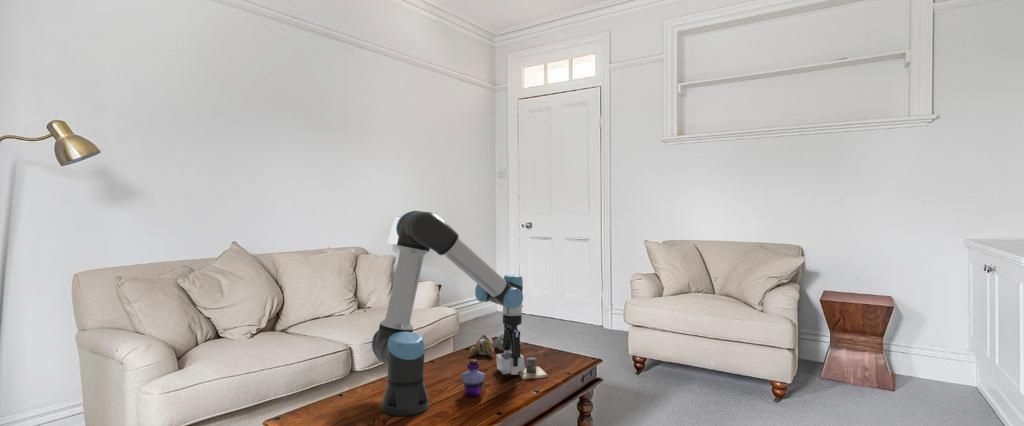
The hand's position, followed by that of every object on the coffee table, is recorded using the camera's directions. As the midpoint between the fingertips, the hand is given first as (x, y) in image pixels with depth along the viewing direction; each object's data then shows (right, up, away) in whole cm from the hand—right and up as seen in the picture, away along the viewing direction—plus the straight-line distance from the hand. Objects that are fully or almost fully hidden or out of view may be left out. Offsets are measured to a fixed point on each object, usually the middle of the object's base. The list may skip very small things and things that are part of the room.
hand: (510, 370), depth 210 cm
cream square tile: (+8, -1, -2) cm, 8 cm away
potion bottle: (-13, -1, -24) cm, 27 cm away
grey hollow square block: (0, 0, 0) cm, 0 cm away
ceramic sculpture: (-12, 0, +24) cm, 27 cm away
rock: (-2, 0, +34) cm, 34 cm away
